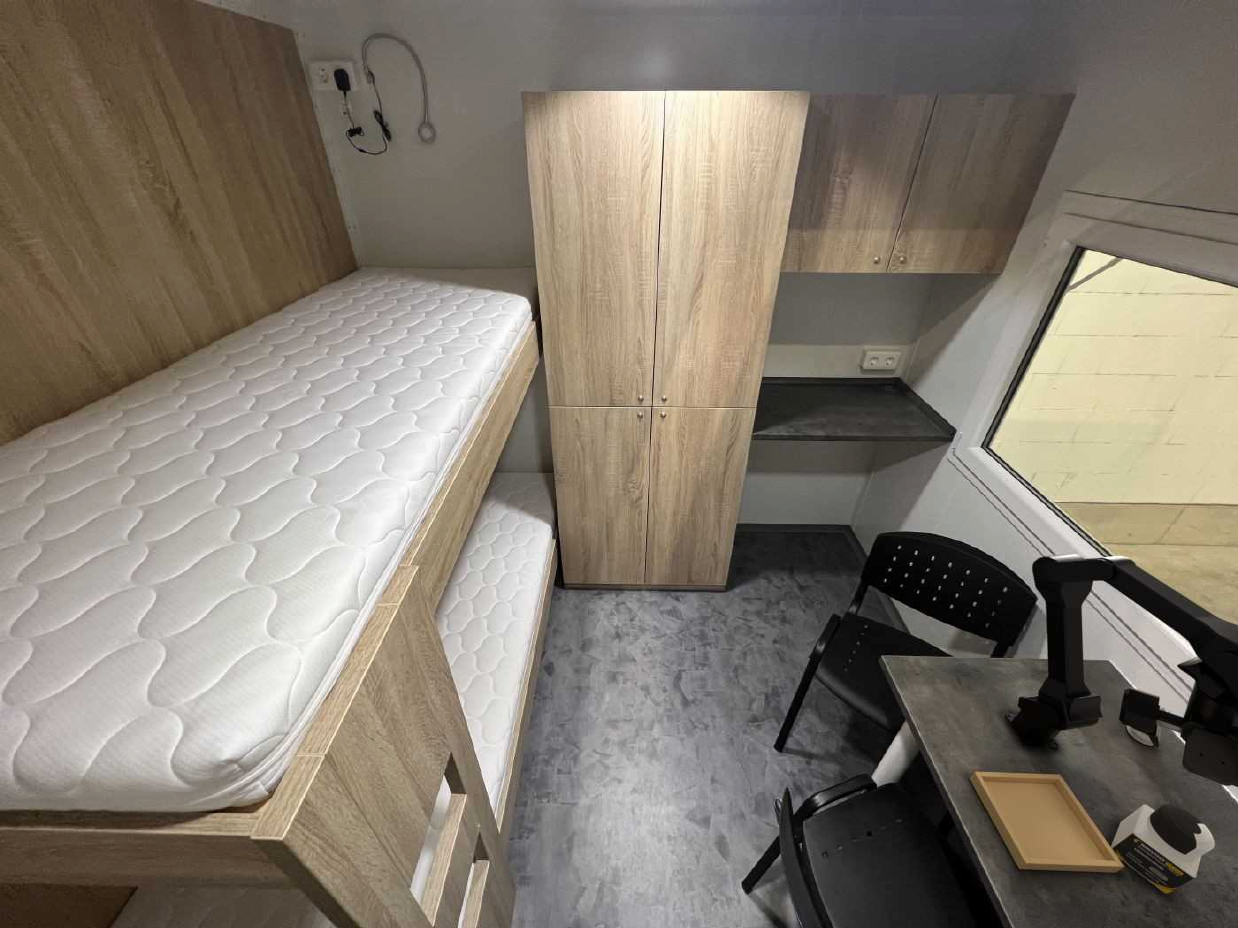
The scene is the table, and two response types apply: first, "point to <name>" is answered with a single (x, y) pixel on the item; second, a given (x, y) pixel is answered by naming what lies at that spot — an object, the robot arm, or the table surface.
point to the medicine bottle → (1163, 845)
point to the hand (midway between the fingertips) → (1199, 761)
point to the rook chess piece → (1141, 734)
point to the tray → (1044, 823)
